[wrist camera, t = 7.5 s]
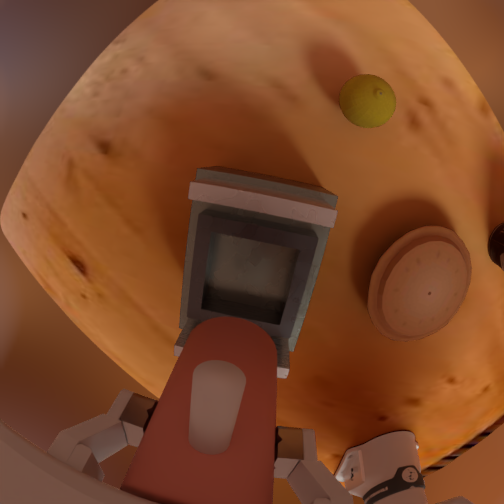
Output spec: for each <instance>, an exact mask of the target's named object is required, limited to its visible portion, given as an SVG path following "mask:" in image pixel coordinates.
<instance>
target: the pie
mask: <svg viewBox="0 0 504 504" xmlns="http://www.w3.org/2000/svg"><path fill="white" fill-rule="evenodd" d="M471 269H472V267H471V261H470V255H469V252H468V250H467V248H466V246H465V245H464V243H463V241H462V240H461V239H460V238H459V236H458V235H457V234H456V233H455V232H454V231H453V230H451V229H448V228H445V227H442V226H423V227H420V228H417V229H414V230H411V231H409V232H407V233H406V234H405V235H403V236H402V237H400V238H399V239H398V240H396V241H395V242H394V243H393V244H392V245H391V246H390V247H389V248H388V249H387V250H386V251H385V252H384V254H383V255H382V256H381V257H380V259H379V261H378V263H377V265H376V266H375V268H374V270H373V272H372V274H371V279H370V285H369V290H368V306H367V309H368V312H369V315H370V318H371V320H372V323H373V324H374V325H375V327H376V328H377V329H378V331H379V332H380V333H381V334H382V335H384V336H386V337H388V338H390V339H392V340H396V341H405V342H407V341H413V340H419V339H422V338H424V337H426V336H429V335H431V334H433V333H435V332H437V331H438V330H440V329H441V328H443V327H444V326H446V325H447V324H448V322H449V321H450V320H451V319H452V318H453V316H454V315H455V314H456V313H457V311H458V309H459V308H460V306H461V304H462V302H463V301H464V299H465V296H466V293H467V290H468V288H469V285H470V279H471Z"/></svg>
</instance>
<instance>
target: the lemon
mask: <svg viewBox="0 0 504 504" xmlns="http://www.w3.org/2000/svg"><path fill="white" fill-rule="evenodd" d="M339 103H340V108H341V110H342V113H343V114H344V116H345V117H346V118H347V119H348V120H349V121H350V122H351V123H353V124H355V125H357V126H360V127H363V128H374V127H378V126H381V125H383V124H384V123H386V122H387V121H388V120H389V119H390V118H391V117H392V115H393V113H394V111H395V107H396V97H395V94H394V91H393V90H392V88H391V86H390V85H389V84H388V83H387V82H386V81H385V80H383V79H382V78H380V77H377V76H375V75H370V74H364V75H358V76H355V77H353V78H351V79H350V80H348V81H347V82H346V83H345V85H344V86H343V87H342V89H341V92H340V95H339Z"/></svg>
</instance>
